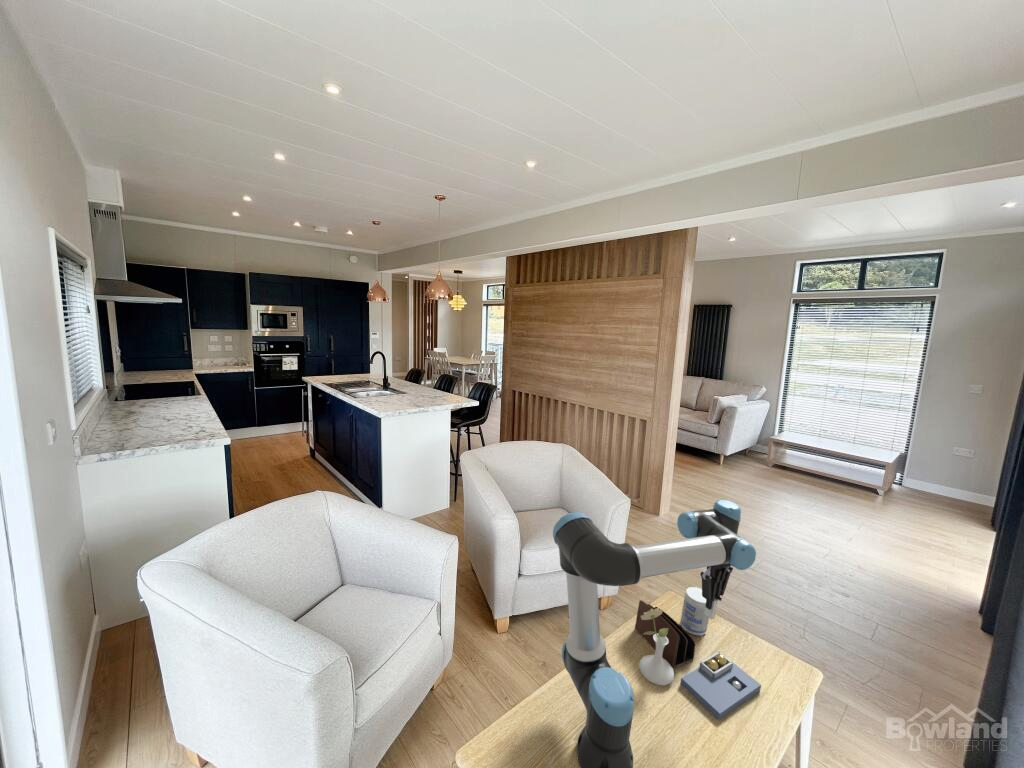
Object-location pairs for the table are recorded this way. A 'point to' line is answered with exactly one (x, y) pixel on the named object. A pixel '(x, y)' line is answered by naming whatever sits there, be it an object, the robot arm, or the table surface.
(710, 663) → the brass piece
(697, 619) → the supplement tub
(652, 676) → the flower in vase
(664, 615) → the letter holder
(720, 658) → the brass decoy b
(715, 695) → the deck
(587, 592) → the robot arm
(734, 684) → the steel ball
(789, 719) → the table surface
